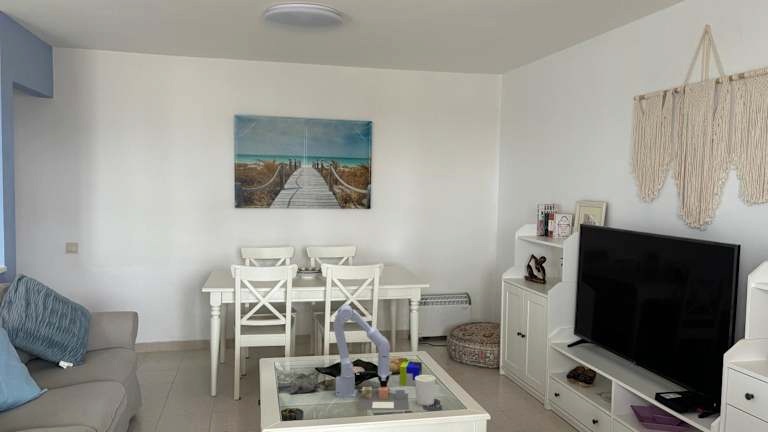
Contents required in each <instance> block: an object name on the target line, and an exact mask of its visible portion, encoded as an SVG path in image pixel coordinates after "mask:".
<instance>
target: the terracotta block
mask: <svg viewBox="0 0 768 432" xmlns="http://www.w3.org/2000/svg"><path fill="white" fill-rule="evenodd" d="M378 393H379V399H388V393H389V386H387V387H381V386H379V387H378Z"/></svg>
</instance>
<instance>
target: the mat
mask: <svg viewBox="0 0 768 432" xmlns="http://www.w3.org/2000/svg"><path fill="white" fill-rule="evenodd" d="M409 407H410V405H409V393H407V392H406V393H405V399H395V392H394V393H393V392H392V393H390V392H388V399H379V392H378V393H377V392H375V393H374V392H372V399H362V392H360V393H359V396H358V400H357V406H356V410H365V411H366V410H367V411H372V410H373V411H377V410H379V411H383V410H384V411H409V410H410V408H409Z"/></svg>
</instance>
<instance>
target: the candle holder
mask: <svg viewBox="0 0 768 432" xmlns="http://www.w3.org/2000/svg"><path fill="white" fill-rule="evenodd" d="M436 380H437V379H436V376H434V375H431V374H422V375H419V376H416V377H415V385H416V386H415V399H416V404H417V405H420V406H431V405H434V403H435V392H436V391H435V390H436Z"/></svg>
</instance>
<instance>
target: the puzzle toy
mask: <svg viewBox="0 0 768 432" xmlns="http://www.w3.org/2000/svg"><path fill="white" fill-rule="evenodd" d="M422 365H423V363H422V362H421V361H413V362H412V361H410V362H409V361H403V363H402V364H401V366H400V372H399V385H400V386H409V387H411V386H412V387H416V385H415V377H416V376H419V375H423V373H422V371H423V370H422V369H423V368H422V367H423V366H422Z"/></svg>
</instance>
